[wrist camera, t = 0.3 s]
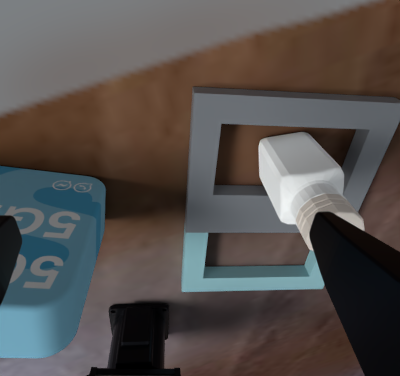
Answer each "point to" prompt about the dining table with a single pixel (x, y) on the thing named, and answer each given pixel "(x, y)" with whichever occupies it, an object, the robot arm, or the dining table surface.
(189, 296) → the dining table surface
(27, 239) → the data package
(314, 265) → the panel
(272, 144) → the white salt shaker
